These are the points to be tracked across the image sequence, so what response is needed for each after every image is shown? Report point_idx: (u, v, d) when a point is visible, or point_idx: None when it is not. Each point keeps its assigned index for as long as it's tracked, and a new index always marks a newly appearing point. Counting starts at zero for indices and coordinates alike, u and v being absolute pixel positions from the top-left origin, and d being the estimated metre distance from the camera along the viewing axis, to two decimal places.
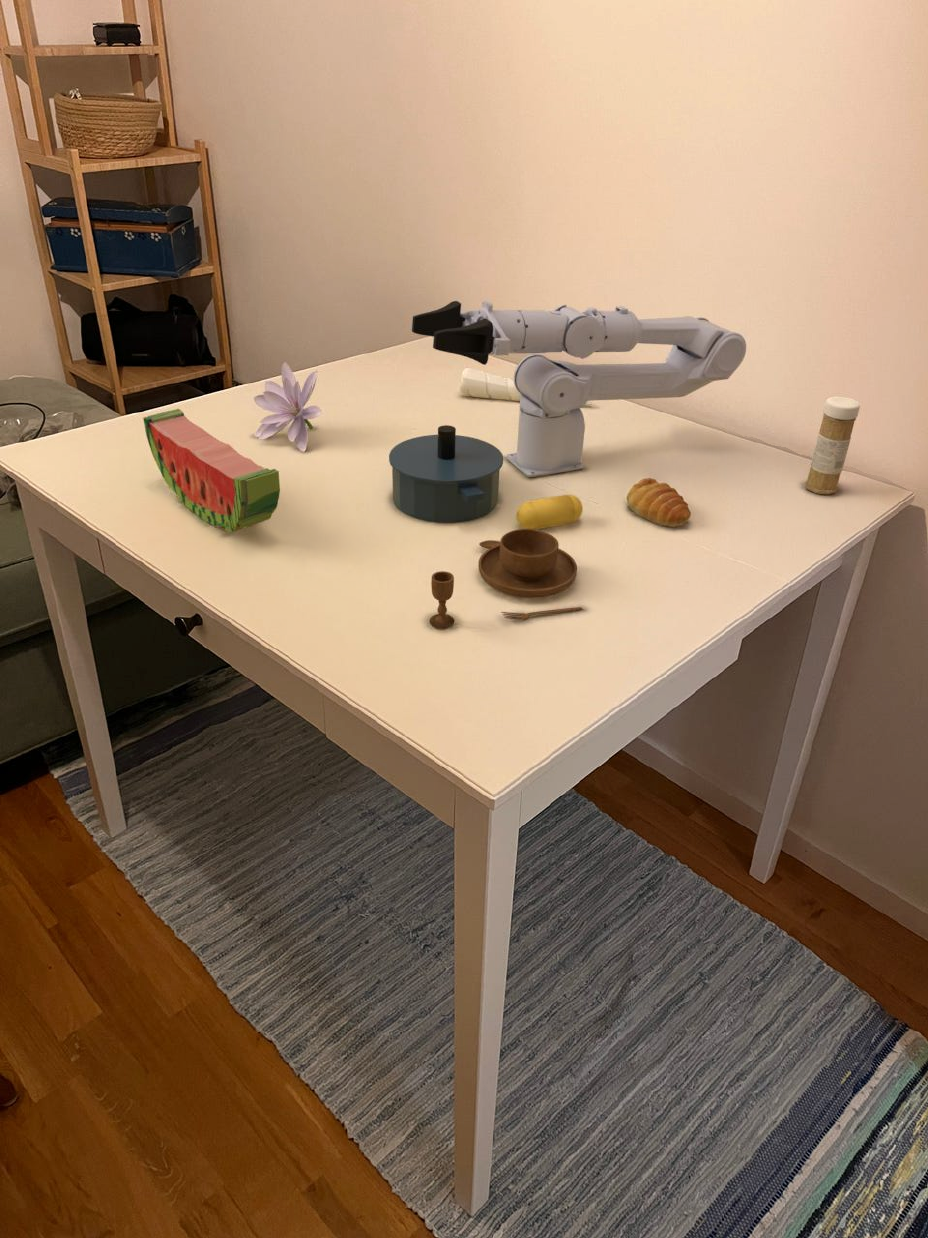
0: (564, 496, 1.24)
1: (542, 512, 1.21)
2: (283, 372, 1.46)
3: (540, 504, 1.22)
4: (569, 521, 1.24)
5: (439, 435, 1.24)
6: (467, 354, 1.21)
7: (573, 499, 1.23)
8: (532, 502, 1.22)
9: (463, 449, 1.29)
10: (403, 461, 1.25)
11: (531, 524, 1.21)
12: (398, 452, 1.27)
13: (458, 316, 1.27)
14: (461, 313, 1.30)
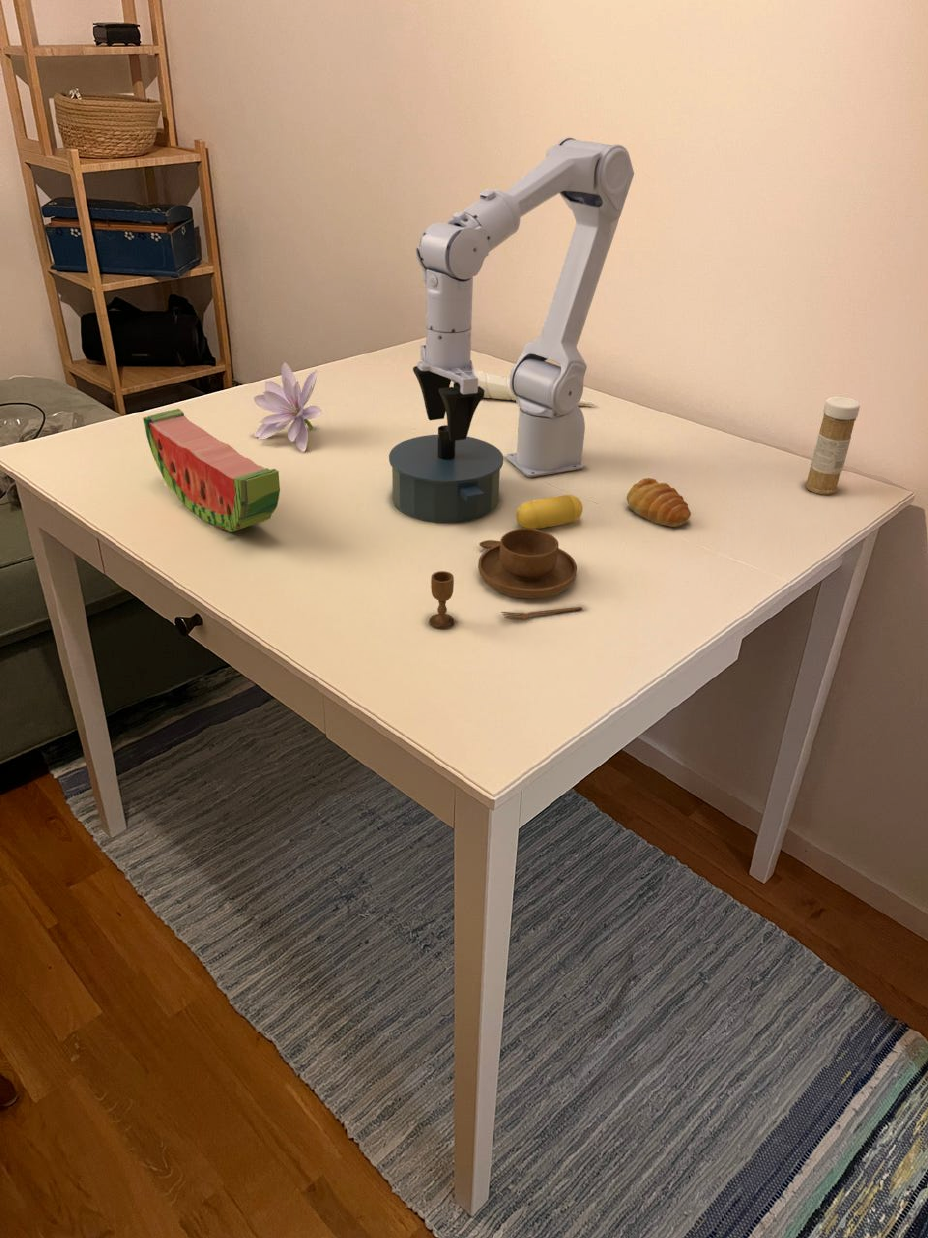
0: (564, 496, 1.24)
1: (542, 512, 1.21)
2: (283, 371, 1.46)
3: (540, 504, 1.22)
4: (569, 521, 1.24)
5: (439, 435, 1.24)
6: (473, 409, 1.19)
7: (573, 499, 1.23)
8: (532, 502, 1.22)
9: (463, 449, 1.29)
10: (403, 461, 1.25)
11: (531, 524, 1.21)
12: (398, 452, 1.27)
13: (429, 373, 1.23)
14: (424, 355, 1.25)
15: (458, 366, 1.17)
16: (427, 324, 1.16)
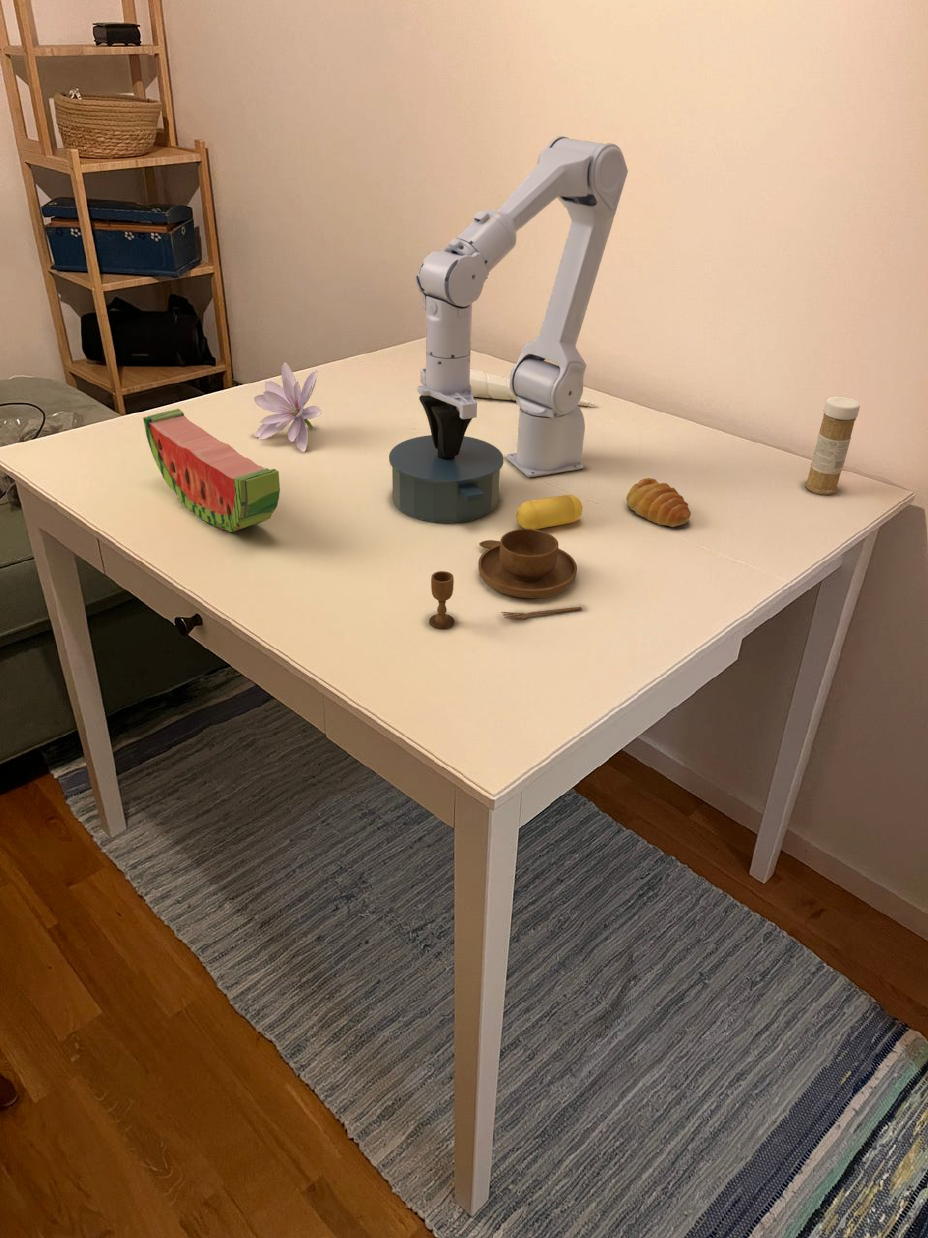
0: (564, 496, 1.24)
1: (542, 512, 1.21)
2: (283, 372, 1.46)
3: (540, 504, 1.22)
4: (569, 521, 1.24)
5: (439, 435, 1.24)
6: (465, 426, 1.22)
7: (573, 499, 1.23)
8: (532, 502, 1.22)
9: (463, 449, 1.29)
10: (403, 461, 1.25)
11: (531, 524, 1.21)
12: (398, 452, 1.27)
13: (435, 402, 1.23)
14: (424, 379, 1.26)
15: (457, 391, 1.19)
16: (427, 350, 1.18)
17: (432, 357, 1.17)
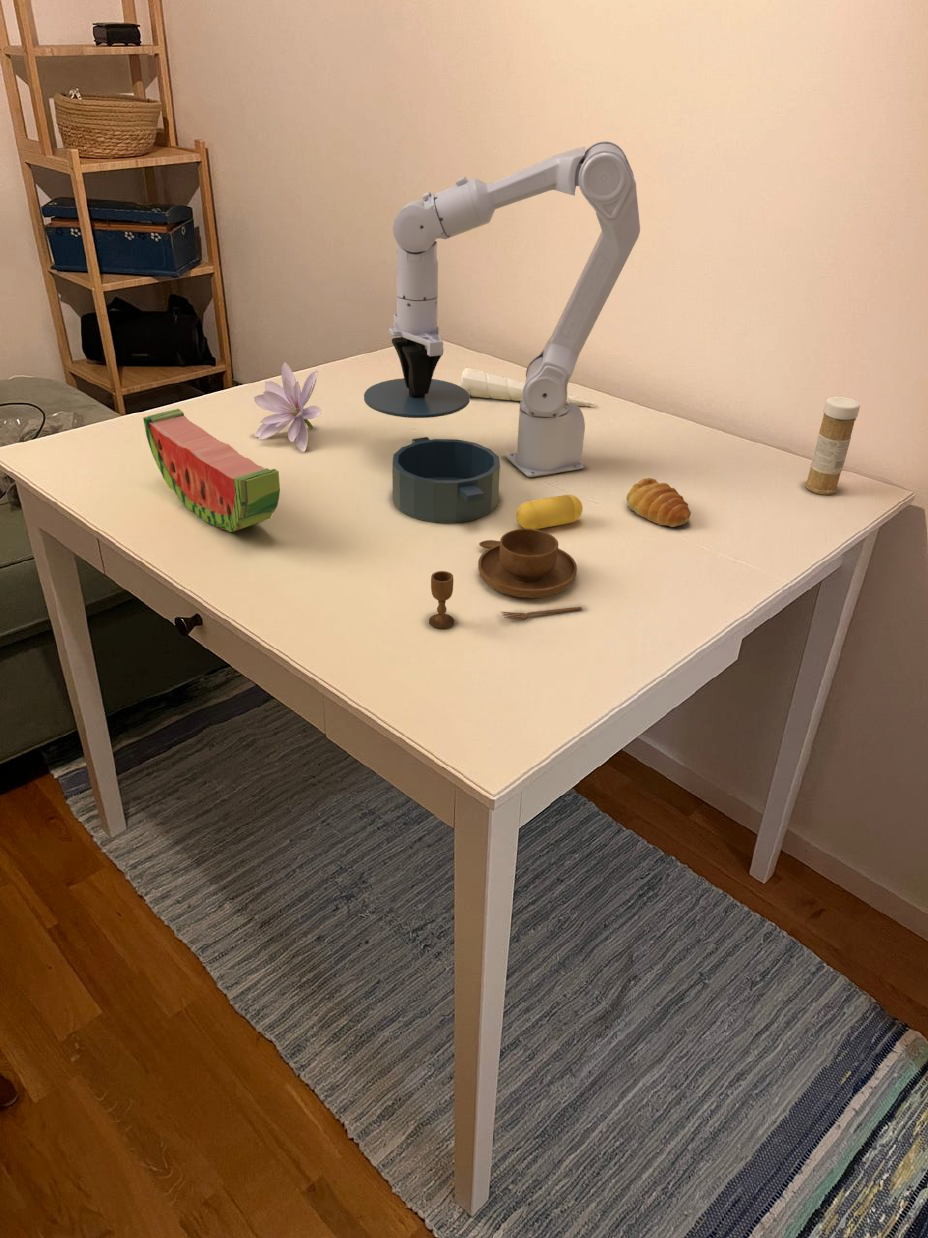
0: (564, 496, 1.24)
1: (542, 512, 1.21)
2: (283, 371, 1.46)
3: (540, 504, 1.22)
4: (569, 521, 1.24)
5: (410, 375, 1.35)
6: (433, 366, 1.33)
7: (573, 499, 1.23)
8: (532, 502, 1.22)
9: (433, 389, 1.39)
10: (377, 399, 1.35)
11: (531, 524, 1.21)
12: (372, 392, 1.38)
13: (406, 343, 1.34)
14: (396, 323, 1.37)
15: (426, 331, 1.30)
16: None
17: (402, 300, 1.28)
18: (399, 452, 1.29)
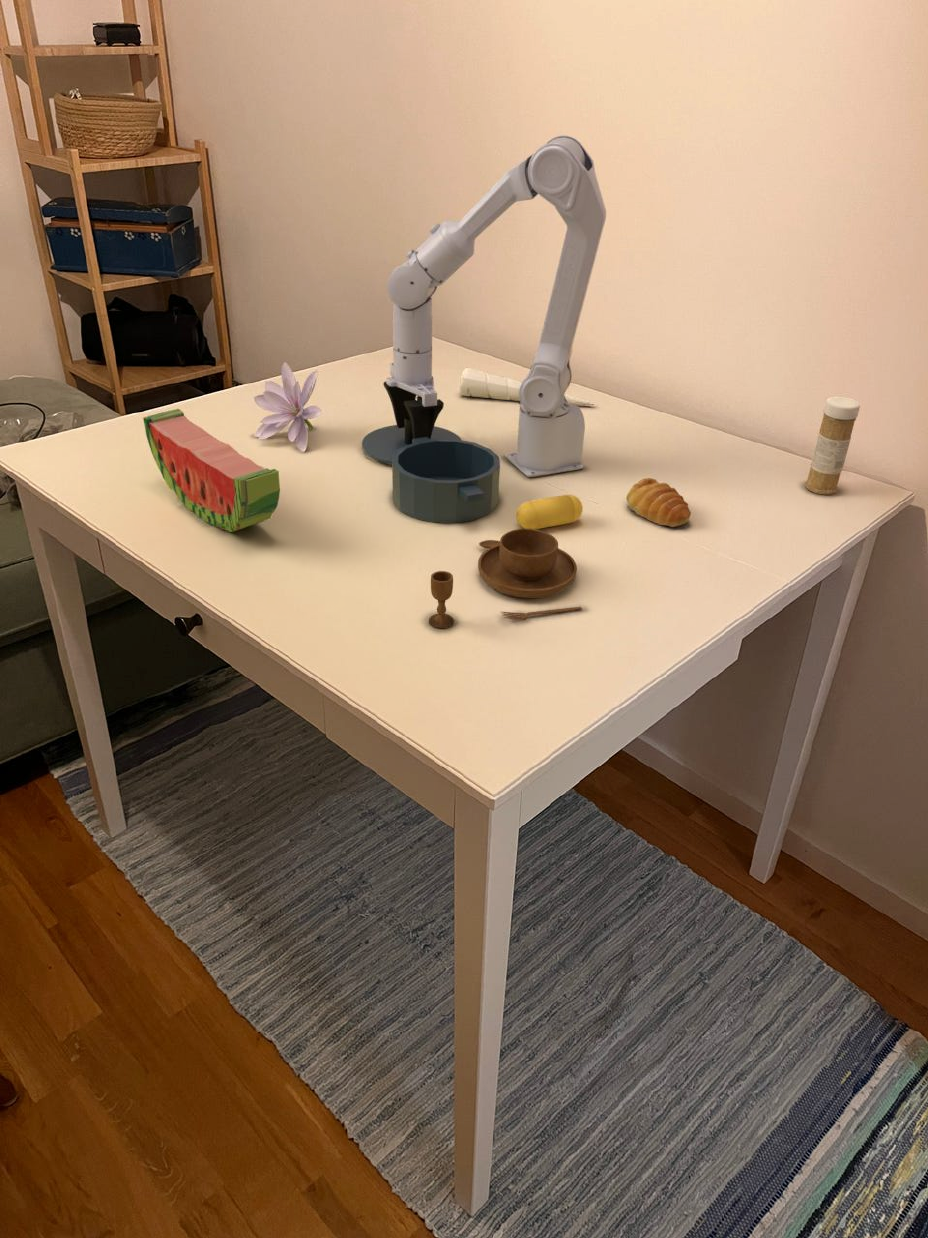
0: (564, 496, 1.24)
1: (542, 512, 1.21)
2: (283, 371, 1.46)
3: (540, 504, 1.22)
4: (569, 521, 1.24)
5: (406, 424, 1.42)
6: (434, 419, 1.38)
7: (573, 499, 1.23)
8: (532, 502, 1.22)
9: None
10: (374, 447, 1.42)
11: (531, 524, 1.21)
12: (370, 439, 1.45)
13: (397, 387, 1.42)
14: None
15: (421, 382, 1.36)
16: None
17: (398, 352, 1.34)
18: (399, 452, 1.29)
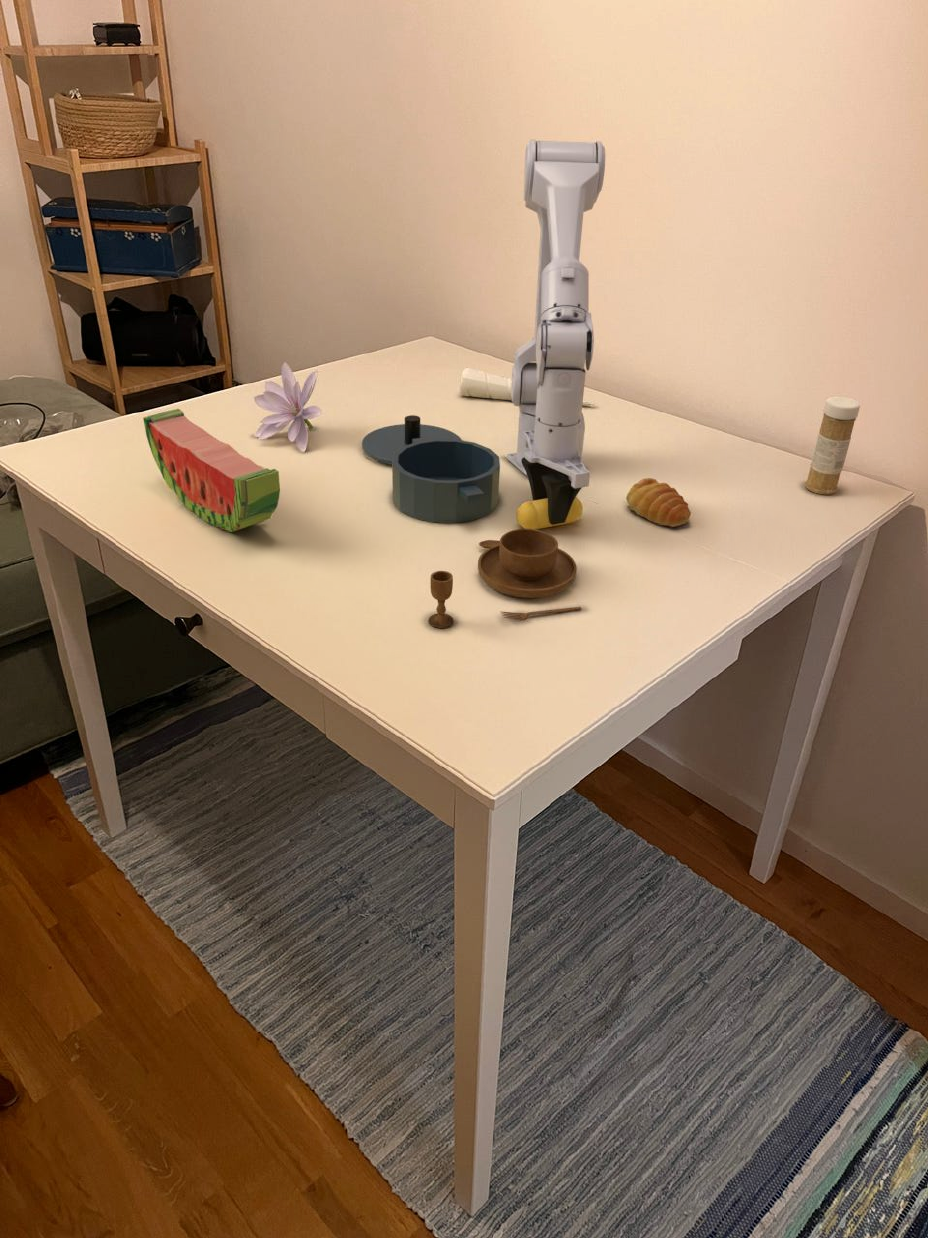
0: None
1: (542, 512, 1.21)
2: (283, 371, 1.46)
3: (540, 504, 1.22)
4: (569, 521, 1.24)
5: (406, 424, 1.42)
6: (575, 495, 1.19)
7: None
8: (532, 502, 1.22)
9: (428, 436, 1.46)
10: (374, 447, 1.42)
11: (531, 524, 1.21)
12: (370, 439, 1.45)
13: (538, 465, 1.22)
14: (526, 442, 1.24)
15: (567, 458, 1.17)
16: (551, 422, 1.14)
17: (543, 425, 1.15)
18: (399, 452, 1.29)
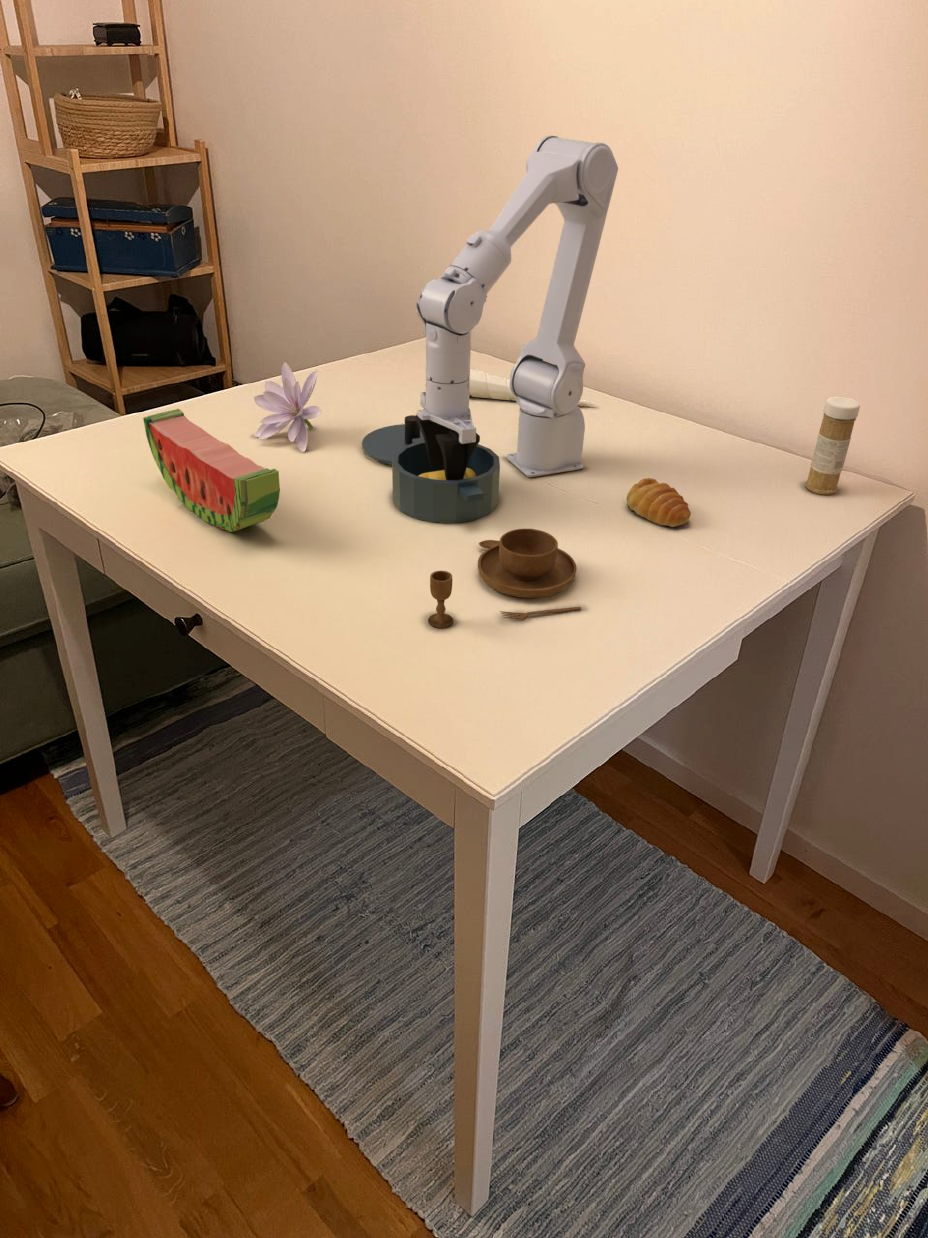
0: None
1: None
2: (283, 371, 1.46)
3: (434, 475, 1.27)
4: None
5: (406, 424, 1.42)
6: (469, 454, 1.23)
7: (467, 471, 1.29)
8: (427, 474, 1.27)
9: None
10: (374, 447, 1.42)
11: None
12: (370, 439, 1.45)
13: (431, 421, 1.26)
14: None
15: (457, 415, 1.21)
16: (427, 375, 1.20)
17: (432, 382, 1.19)
18: (399, 452, 1.29)
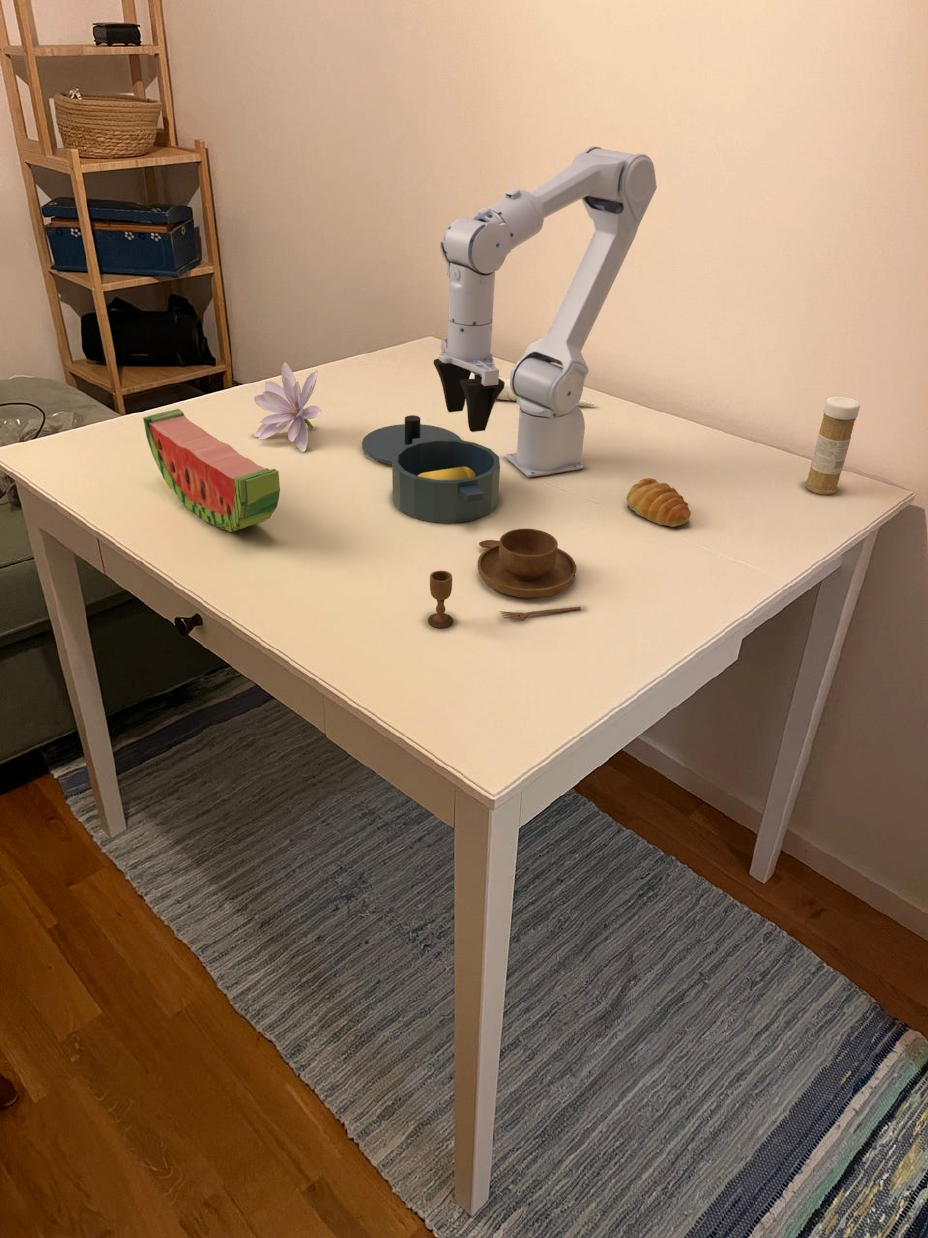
0: (458, 467, 1.29)
1: None
2: (283, 371, 1.46)
3: (433, 474, 1.27)
4: None
5: (406, 424, 1.42)
6: (493, 401, 1.22)
7: (466, 469, 1.29)
8: (426, 473, 1.27)
9: (428, 436, 1.46)
10: (374, 447, 1.42)
11: None
12: (370, 439, 1.45)
13: (449, 365, 1.26)
14: (444, 349, 1.27)
15: (479, 358, 1.20)
16: (449, 317, 1.19)
17: (455, 324, 1.18)
18: (399, 452, 1.29)
